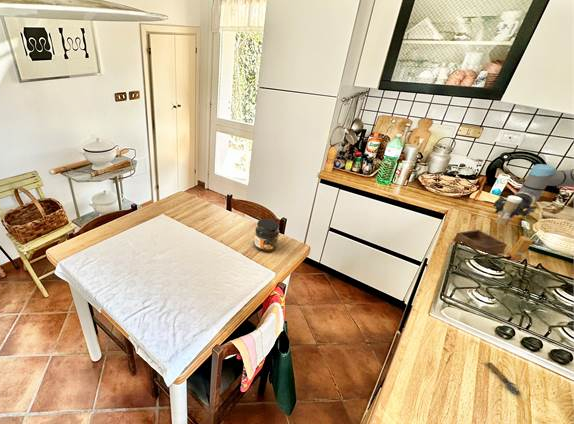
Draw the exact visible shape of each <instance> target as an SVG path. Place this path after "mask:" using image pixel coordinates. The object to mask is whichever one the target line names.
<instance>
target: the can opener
mask: <svg viewBox="0 0 574 424" xmlns="http://www.w3.org/2000/svg"><path fill="white" fill-rule="evenodd" d="M487 365H488V367H489V368H490V369H491V370H492V371H493V372H494V373H495V374H496V375H498V376H499V378H500V379H502V381H503V382H505V385H506V387H507V388H508V389H509V391H510V392H512V393H514V394H515V395H517V396H518V393H520V390H519V389H518V388H517V385H516V384H515V383H513V382H511V381H509V379H508V377H506V376H505V375H504V374H503V373H502V371H500V369H499V368H498V367H497V366H496V365H495V364H493V363H492V362H488V363H487Z"/></svg>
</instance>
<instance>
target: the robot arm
mask: <svg viewBox="0 0 574 424" xmlns="http://www.w3.org/2000/svg"><path fill="white" fill-rule="evenodd" d="M548 186H549V187H551V186H552V187H567V188H574V168H572V169H565V170H564V169H557V168H556V167H555V166H554V165H549V164H543V163H537V164H534V166H533V167H532V168H531V170H530V171H529V172H528V174H527V177H526V178H525V180H524V181H523V184H522V185H521V187H520V189H519V190H518V191H517V192H515V194H513V195H512V196H517V197H520V198H522V201H521V203H520V204H519V205H518V207H517V209H516V210H514V211H513V212H512V213H511V215H510V217H509V218H511V219H512V218H513V217H515V216H517V217H519V216H520V215H522V216H523V217H527V216H529V215H530V214H532V213H535V212H536V210H537V209H538V206H535V205H533V204H534V203H536V202H537V201H539V200H540V199H541V197H542V194H543V192H544V190H545V189H546V187H548ZM506 201H507V198H505V197H504V196H502V195H500V196H499V197H498V199H497V200H495V202H494V203H493V205H492V207H494V208H495V212H494V214H499V213H500V211H501V209H502V208H503V206H504V204H505V203H506Z"/></svg>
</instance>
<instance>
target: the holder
mask: <svg viewBox="0 0 574 424" xmlns="http://www.w3.org/2000/svg"><path fill="white" fill-rule="evenodd" d="M453 241H454V242H456V243H457V244H459V243H461V242H465V243H466V244H468V245H470V246H472V247H474V248H476V249H478V250H480V251H482V252H485V253H488V254H490V255H494V254H500V253H504V251H505V249H506V247H507V246H508V244H507V243H506V242H503V241H501V240H500V239H497V238H495V237H494V236H492V235H490V234H488V233H486V232H484V231H482V230H480V229H473V230H472V229H471V230H466V231H460V232H457V233H456V234H455V236H454V238H453Z"/></svg>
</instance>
